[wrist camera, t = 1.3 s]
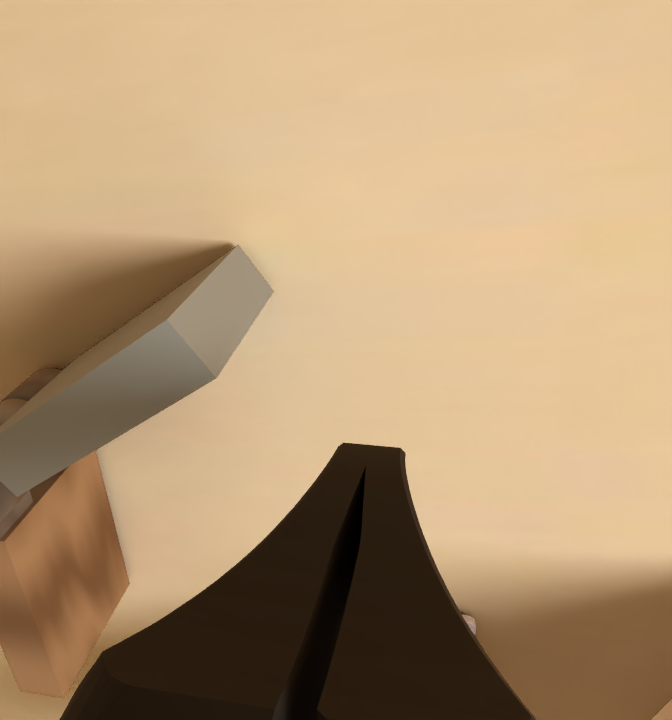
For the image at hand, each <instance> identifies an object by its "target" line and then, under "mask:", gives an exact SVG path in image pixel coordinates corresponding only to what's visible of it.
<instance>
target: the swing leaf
mask: <svg viewBox="0 0 672 720" xmlns="http://www.w3.org/2000/svg"><path fill="white" fill-rule="evenodd" d="M273 292H274V291H273V289H272V288H271V287H270V285H269V284H268V283H267V281H266V280H265V279H264V277H263V276H262V275H261V274H260V272H259V271H258V270H257V268H256V267H255V266H254V264H253V263H252V262H251V261H250V259H249V258H248V257H247V255H246V254H245V253H244V251H243V250H242V249H241V247H240V246H239V245H237V246H236V247H234V248H233V249H231V250H230V251H229V252H227V253H226V254H224V255H223V256H221V257H220V258H219V259H217V260H216V261H214V262H213V263H212V264H210V265H209V266H207V267H206V268H204V269H203V270H202V271H200V272H199V273H197V274H196V275H195V276H193V277H192V278H190V279H189V280H187V281H186V282H185V283H183V284H182V285H180V286H179V287H177V288H176V289H175V290H173V291H172V292H170V293H169V294H168V295H166V296H165V297H163V298H162V299H160V300H159V301H158V302H156V303H155V304H153V305H152V306H151V307H149V308H148V309H146V310H145V311H143V312H142V313H141V314H139V315H138V316H136V317H135V318H133V319H132V320H131V321H129V322H128V323H126V324H125V325H124V326H122V327H121V328H119V329H118V330H116V331H115V332H114V333H112V334H111V335H109V336H108V337H107V338H105V339H104V340H102V341H101V342H99V343H98V344H97V345H95V346H94V347H92V348H91V349H89V350H88V351H87V352H85V353H84V354H82V355H81V356H80V357H78V358H77V359H75V360H74V361H73V362H71V363H70V364H69V365H68V366H67V367H66V368H65V369H64V370H63V371H61V372H60V373H59V374H58V375H57V376H56V377H55V378H54V379H53V380H51V381H50V382H49V383H48V384H47V385H46V386H45V387H44V388H42V389H41V390H40V391H39V392H38V393H37V394H36V395H35V396H34V397H32V398H31V399H30V400H29V401H26V400H22V399H7V400H4V401H2V402H0V482H1V483H3V484H4V485H5V486H6V487H7V488H8V489H9V490H10V491H11V492H12V493H13V494H14V495H15V496H17V497H18V496H20V495H21V494H23V493H25V492H26V491H28V490H30V489H31V488H33V487H35V486H36V485H38V484H40V483H41V482H43V481H45V480H46V479H48V478H50V477H51V476H53V475H55V474H56V473H58V472H60V471H61V470H63V469H65V468H67V467H68V466H70V465H72V464H73V463H75V462H77V461H78V460H80V459H82V458H83V457H85V456H87V455H88V454H90V453H92V452H93V451H95V450H97V449H98V448H100V447H102V446H103V445H105V444H107V443H108V442H110V441H112V440H113V439H115V438H117V437H118V436H120V435H122V434H124V433H125V432H127V431H129V430H130V429H132V428H134V427H135V426H137V425H139V424H140V423H142V422H144V421H145V420H147V419H149V418H150V417H152V416H154V415H155V414H157V413H159V412H160V411H162V410H164V409H165V408H167V407H169V406H170V405H172V404H174V403H176V402H177V401H179V400H181V399H182V398H184V397H186V396H187V395H189V394H191V393H192V392H194V391H196V390H197V389H199V388H201V387H202V386H204V385H206V384H207V383H209V382H211V381H212V380H214V379H216V378H217V377H218V375H219V374H220V372H221V371H222V369H223V368H224V366H225V364H226V363H227V361H228V360H229V358H230V357H231V355H232V354H233V352H234V351H235V349H236V348H237V346H238V345H239V343H240V342H241V340H242V339H243V337H244V336H245V334H246V333H247V331H248V330H249V328H250V327H251V325H252V324H253V322H254V321H255V319H256V318H257V316H258V315H259V313H260V312H261V310H262V308H263V307H264V305H265V304H266V302H267V301H268V299H269V298H270V296H271V295H272V293H273Z"/></svg>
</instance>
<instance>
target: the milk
mask: <svg viewBox="0 0 672 720" xmlns="http://www.w3.org/2000/svg"><path fill="white" fill-rule="evenodd" d="M651 720H672V699H671V700H670V701H669V702H668V703H667V704H666V705H665V706H664V707H663V708H662V709H661V710H660V711H659V712H658V713H657V714H656V715H655V716H654V717H653V718H652V719H651Z"/></svg>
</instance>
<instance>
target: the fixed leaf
mask: <svg viewBox="0 0 672 720" xmlns="http://www.w3.org/2000/svg"><path fill="white" fill-rule="evenodd" d="M61 371H63V370H59V369H53V368H47V369H41V370H39V371H37V372H35V373H34V374H33V375H31V376H30V377H29V378H28V379H27V380H26V381H24V382H23V383H22V384H21V385H20V386H18V387H17V388H16V389H15V390H14V391H13V392H11V393H10V394H9V395H8V396H7V397H5V398H4V399H3V400H2V401H4V400H7V399H22V400H26V401H29V400H30V399H31V398H32V397H34V396H35V395H36V394H37V393H38V392H39V391H40V390H41V389H42V388H44V387H45V386H46V385H47V384H48V383H49V382H50V381H51V380H53V379H54V378H55V377H56V376H57V375H58V374H59V373H60V372H61ZM2 401H1V402H2ZM129 584H130V583H129V579H128V575H127V571H126V567H125V563H124V559H123V555H122V551H121V547H120V543H119V540H118V536H117V532H116V528H115V524H114V520H113V516H112V512H111V508H110V504H109V500H108V496H107V492H106V489H105V485H104V481H103V477H102V473H101V469H100V465H99V461H98V457H97V453H96V450H95V451H93V452H92V453H90V454H88V455H87V456H85V457H83V458H82V459H80V460H78V461H77V462H75V463H73V464H72V465H70V466H68V467H67V468H65V469H63V470H61V471H60V472H58V473H56V474H55V475H53V476H51V477H50V478H48V479H46V480H45V481H43V482H41V483H40V484H38V485H36V486H35V487H33V488H31V489H30V490H28V491H26V492H25V493H23V494H21V495H20V496H18V497H17V496H15V495H14V494H13V493H12V492H11V491H10V490H9V489H8V488H7V487H6V486H5V485H4V484H3V483H1V482H0V645H1V647H2V649H3V652H4V654H5V656H6V659H7V661H8V663H9V666H10V668H11V670H12V672H13V675H14V677H15V679H16V682H17V684H18V686H19V689H20V691H24V692H30V693H36V694H42V695H48V696H54V697H60V698H64V697H65V695H66V694H67V692H68V690H69V689H70V687H71V685H72V683H73V682H74V680H75V678H76V676H77V675H78V673H79V671H80V669H81V668H82V666H83V664H84V662H85V661H86V659H87V657H88V655H89V654H90V652H91V650H92V648H93V647H94V645H95V643H96V641H97V640H98V638H99V636H100V635H101V633H102V631H103V629H104V628H105V626H106V624H107V622H108V621H109V619H110V617H111V615H112V614H113V612H114V610H115V608H116V607H117V605H118V603H119V601H120V600H121V598H122V596H123V594H124V593H125V591H126V589H127V587H128V586H129Z"/></svg>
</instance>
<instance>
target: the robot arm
mask: <svg viewBox="0 0 672 720" xmlns="http://www.w3.org/2000/svg"><path fill="white" fill-rule="evenodd" d="M475 632H476V622H475V620H474V619H473V618H472V617H470V616H468V615H463V614H461V613H460V611H459V609H458V608H457V606H456V604H455V602H454V600H453V598H452V597H451V595H450V593H449V591H448V589H447V587H446V585H445V583H444V581H443V579H442V577H441V575H440V573H439V571H438V569H437V566H436V564H435V562H434V560H433V557H432V555H431V553H430V550H429V548H428V545H427V543H426V540H425V538H424V535H423V532H422V530H421V527H420V524H419V521H418V518H417V515H416V511H415V508H414V505H413V502H412V498H411V494H410V490H409V485H408V481H407V475H406V468H405V452H404V451H403V450H402V449H401V448H395V447H384V446H373V445H362V444H352V443H343V444H341V445H340V446H338V448H337V450H336V451H335V453H334V455H333V456H332V458H331V459H330V461H329V462H328V464H327V465H326V467H325V468H324V470H323V471H322V472H321V474H320V475H319V476H318V478H317V479H316V480H315V482H314V483H313V484H312V486H311V487H310V488H309V489H308V491H307V492H306V493H305V494H304V496H303V497H302V498H301V499H300V501H299V502H298V503H297V504H296V505H295V507H294V508H293V509H292V510H291V511H290V512H289V513H288V514H287V515H286V516H285V518H284V519H283V520H282V521H281V522H280V523H279V524H278V525H277V526H276V527H275V528H274V530H273V531H272V532H271V533H270V534H269V535H268V536H267V537H266V538H265V539H264V540H263V541H262V542H261V543H260V544H258V545H257V546H256V547H255V548H254V549H253V550H252V551H251V552H250V553H249V554H248V555H247V556H245V557H244V558H243V559H242V560H241V561H240V562H239V563H237V564H236V565H235V566H234V567H233V568H231V569H230V570H229V571H228V572H226V573H225V574H224V575H223V576H222V577H220V578H219V579H218V580H217V581H215V582H214V583H213V584H211V585H210V586H209V587H207V588H206V589H205V590H203V591H202V592H201V593H199V594H198V595H196V596H195V597H193V598H192V599H190V600H189V601H187V602H186V603H185V604H183V605H182V606H180V607H179V608H177V609H176V610H174V611H173V612H171V613H170V614H168V615H167V616H165V617H164V618H162V619H160V620H159V621H157V622H156V623H154V624H152V625H151V626H149V627H147V628H145V629H143V630H142V631H140V632H138V633H136V634H134V635H133V636H131V637H129V638H127V639H125V640H123V641H122V642H120V643H118V644H116V645H114V646H112V647H110V648H108V649H106V650H105V651H103V652H102V653H101V655H100V656H99V658H98V659H97V661H96V662H95V664H94V665H93V666H92V668H91V669H90V670H89V672H88V673H87V674H86V676H85V677H84V679H83V680H82V682H81V683H80V685H79V687H78V688H77V690H76V691H75V693H74V695H73V697H72V699H71V700H70V702H69V704H68V706H67V707H66V709H65V711H64V713H63V715H62V716H61V718H60V720H535V718H534V716H533V715H532V714H531V713H530V711H529V710H528V709H527V708H526V707H525V705H524V704H523V703H522V702H521V700H520V699H519V698H518V697H517V695H516V694H515V693H514V691H513V690H512V689H511V687H510V686H509V685H508V683H507V682H506V681H505V680H504V678H503V677H502V676H501V674H500V673H499V671H498V670H497V668H496V667H495V666H494V664H493V663H492V661H491V660H490V658H489V657H488V656H487V654H486V653H485V651H484V650H483V648H482V647H481V645H480V643H479V642H478V640H477V639H476V637H475Z"/></svg>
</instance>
